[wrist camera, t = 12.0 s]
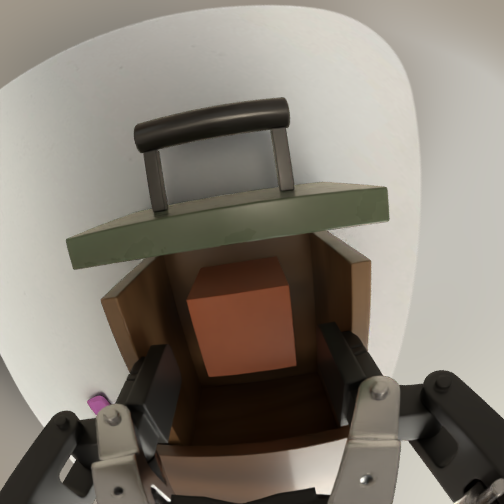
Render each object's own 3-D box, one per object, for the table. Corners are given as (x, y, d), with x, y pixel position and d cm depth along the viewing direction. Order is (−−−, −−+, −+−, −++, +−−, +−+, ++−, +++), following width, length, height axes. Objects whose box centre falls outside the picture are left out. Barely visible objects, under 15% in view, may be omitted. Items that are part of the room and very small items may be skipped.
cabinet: (172, 353, 19) (139, 453, 10) (337, 331, 19) (389, 424, 10) (215, 454, 23) (210, 527, 14) (332, 438, 23) (353, 509, 14)
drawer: (127, 147, 15) (49, 131, 7) (313, 115, 15) (368, 70, 7) (187, 385, 19) (169, 465, 12) (333, 365, 19) (366, 441, 12)
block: (200, 267, 16) (185, 299, 11) (276, 255, 16) (289, 284, 11) (215, 332, 17) (208, 377, 13) (284, 322, 17) (296, 365, 12)
